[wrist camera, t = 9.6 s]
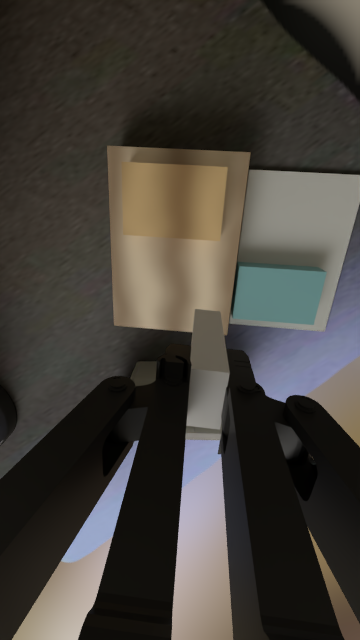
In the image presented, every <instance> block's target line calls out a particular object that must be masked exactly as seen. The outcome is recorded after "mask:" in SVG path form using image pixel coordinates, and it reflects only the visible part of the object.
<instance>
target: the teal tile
mask: <svg viewBox="0 0 360 640" xmlns="http://www.w3.org/2000/svg"><path fill="white" fill-rule="evenodd" d="M326 274H327V272H326V271H324V270H322V269H321V268H319V267H310V266H295V265H280V264H265V263H250V262H237V267H236V275H235V283H234V291H233V299H232V306H231V314H232V318H233V319H244V320H256V321H269V322H281V323H294V324H307V325H314V322H315V318H316V314H317V310H318V306H319V302H320V298H321V294H322V290H323V286H324V282H325V278H326Z"/></svg>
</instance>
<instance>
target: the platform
mask: <svg viewBox="0 0 360 640" xmlns="http://www.w3.org/2000/svg"><path fill="white" fill-rule="evenodd" d="M107 153H108V179H109V205H110V231H111V257H112V283H113V309H114V326H125V327H137V328H148V329H160V330H172V331H183V332H193V322H194V313H195V309H201V310H211V311H220V312H221V319H222V325H223V332H224V335H227V332H228V324H229V316H230V308H231V301H232V293H233V285H234V277H235V270H236V262H237V254H238V246H239V239H240V231H241V223H242V215H243V208H244V200H245V192H246V184H247V177H248V169H249V161H250V153H251V152H232V151H211V150H189V149H167V148H146V147H124V146H107ZM121 162H136V163H156V164H177V165H197V166H217V167H228V170H227V179H226V189H225V199H224V208H223V218H222V227H221V237H220V241H209V240H193V239H178V238H163V237H148V236H133V235H123V208H122V164H121Z"/></svg>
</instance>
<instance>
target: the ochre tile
mask: <svg viewBox="0 0 360 640" xmlns="http://www.w3.org/2000/svg"><path fill="white" fill-rule="evenodd" d="M121 164H122V208H123V235H133V236H148V237H163V238H178V239H193V240H209V241H220V237H221V227H222V218H223V208H224V199H225V189H226V179H227V170H228V167H217V166H197V165H177V164H156V163H136V162H121Z"/></svg>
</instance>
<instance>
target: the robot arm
mask: <svg viewBox="0 0 360 640" xmlns="http://www.w3.org/2000/svg"><path fill="white" fill-rule="evenodd" d="M16 421H17V416H16V410H15V407H14V404H13V402H12V400H11V399H10V397H9V396H8V394H7V393H6V392H5V390H4V389H3V388H2V387H1V386H0V446H1V445H2V444H3V443H4V442H5V441H6V439H7V438H8V437H9V436H10V435H11V433H12V432H13V431H14V429H15V426H16ZM221 421H222V433H221V438H220V444H219V450H218V454H221V457H222V470H223V471H222V472H223V487H224V500H225V501H224V502H225V518H226V531H227V532H226V533H227V547H228V562H229V563H228V564H229V579H230V592H231V593H230V594H231V609H232V623H233V624H232V625H233V640H344V638H343V636H342V633H341V631H340V628H339V625H338V622H337V619H336V616H335V613H334V610H333V607H332V604H331V600H330V597H329V594H328V591H327V588H326V584H325V581H324V578H323V575H322V572H321V568H320V565H319V562H318V559H317V556H316V553H315V550H314V546H313V543H312V540H311V537H310V534H309V531H308V528H309V530H310V532H311V534H312V536H313V538H314V540H315V541H316V543H317V545H318V547H319V549H320V551H321V552H322V554H323V556H324V558H325V560H326V562H327V564H328V566H329V567H330V569H331V571H332V573H333V575H334V577H335V579H336V580H337V582H338V584H339V586H340V588H341V590H342V592H343V593H344V595H345V597H346V599H347V601H348V603H349V604H350V606H351V608H352V610H353V612H354V614H355V616H356V617H357V619H358V621H359V623H360V447H359V446H358V445H357V444H356V443H355V442H354V440H353V439H352V438H351V437H350V436H349V435H348V434H347V433H346V432H345V431H344V430H343V429H342V427H341V426H340V425H339V424H338V423H337V422H336V421H335V420H334V419H333V418H332V417H331V416H330V414H329V413H328V412H327V411H326V410H325V409H324V408H323V407H322V406H321V405H320V404H319V403H318V402H316V401H315V400H312V399H311V398H309V397H305V396H300V395H293V396H290V397H288V398H287V399H286V403H284V402H281V401H277V400H274V399H272V398H269V397H268V396H266V395H265V392H264V390H263V388H262V387H261V386H260V385H259V384H257V383H256V381H255V378H254V374H253V371H252V368H251V364H250V361H249V357H248V355H247V354H246V353H245V352H244V351H242V350H233V349H226V345H225V338H224V332H223V325H222V319H221V312H220V311H211V310H201V309H195V313H194V322H193V332H192V341H191V346H189V345H179V344H171V345H169V346H168V347H167V348H166V351H165V355H162V356H160V357H159V358H158V359H157V365H156V380H155V381H154V382H152V383H150V384H147V385H142V386H135V383H134V382H133V381H132V380H131V379H130V378H127V377H123V376H114V377H110V378H107V379H105V380H104V381H102V382H101V383H100V384H99V385H98V386H97V387H96V388H95V389H94V390H93V391H92V392H90V393H89V394H88V395H87V396H86V397H85V398H84V399H83V400H82V401H81V402H80V403H79V404H78V405H77V406H76V407H75V408H74V409H73V410H72V411H71V412H70V413H69V414H68V415H67V416H66V417H65V418H64V419H62V420H61V421H60V422H59V423H58V424H57V425H56V426H55V427H54V428H53V429H52V430H51V431H50V432H49V433H48V434H47V435H46V436H45V437H44V438H43V439H42V440H41V441H40V442H39V443H38V444H37V445H36V446H34V447H33V448H32V449H31V450H30V451H29V452H28V453H27V454H26V455H25V456H24V457H23V458H22V459H21V460H20V461H19V462H18V463H17V464H16V465H15V466H14V467H13V468H12V469H11V470H10V471H9V472H8V473H6V474H5V475H4V476H3V477H2V478H1V479H0V640H12V638H13V636H14V635H15V633H16V632H17V630H18V629H19V627H20V625H21V624H22V622H23V621H24V619H25V617H26V616H27V614H28V613H29V611H30V609H31V608H32V606H33V604H34V603H35V601H36V600H37V598H38V596H39V595H40V593H41V592H42V590H43V588H44V587H45V585H46V583H47V582H48V580H49V579H50V577H51V576H52V574H53V572H54V571H55V569H56V568H57V566H58V564H59V563H60V561H61V560H62V558H63V556H64V555H65V553H66V552H67V550H68V548H69V547H70V545H71V544H72V542H73V540H74V539H75V537H76V536H77V534H78V532H79V531H80V529H81V528H82V526H83V524H84V523H85V521H86V520H87V518H88V516H89V515H90V513H91V512H92V510H93V508H94V507H95V505H96V504H97V502H98V500H99V499H100V497H101V496H102V494H103V492H104V491H105V489H106V488H107V486H108V484H109V483H110V481H111V480H112V478H113V476H114V475H115V473H116V471H117V470H118V468H119V467H120V465H121V463H122V462H123V460H124V459H125V457H126V455H127V454H128V452H129V451H130V449H131V447H132V446H133V443H134V441H137V440H139V442H138V446H137V450H136V453H135V457H134V461H133V465H132V468H131V472H130V476H129V479H128V483H127V487H126V490H125V494H124V498H123V501H122V505H121V509H120V512H119V516H118V520H117V524H116V527H115V531H114V535H113V538H112V542H111V546H110V550H109V553H108V557H107V560H106V564H105V568H104V572H103V575H102V579H101V583H100V586H99V590H98V594H97V597H96V600H95V603H94V605H93V607H92V609H91V610H90V611H89V612H88V614H87V616H86V618H85V621H84V623H83V626H82V629H81V632H80V635H79V638H78V640H171V633H172V608H173V595H174V582H175V568H176V555H177V542H178V529H179V516H180V503H181V490H182V477H183V463H184V450H185V437H186V426H193V427H202V428H210V429H218V430H220V427H221ZM311 456H312V457H311ZM313 459H314V460H313Z"/></svg>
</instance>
